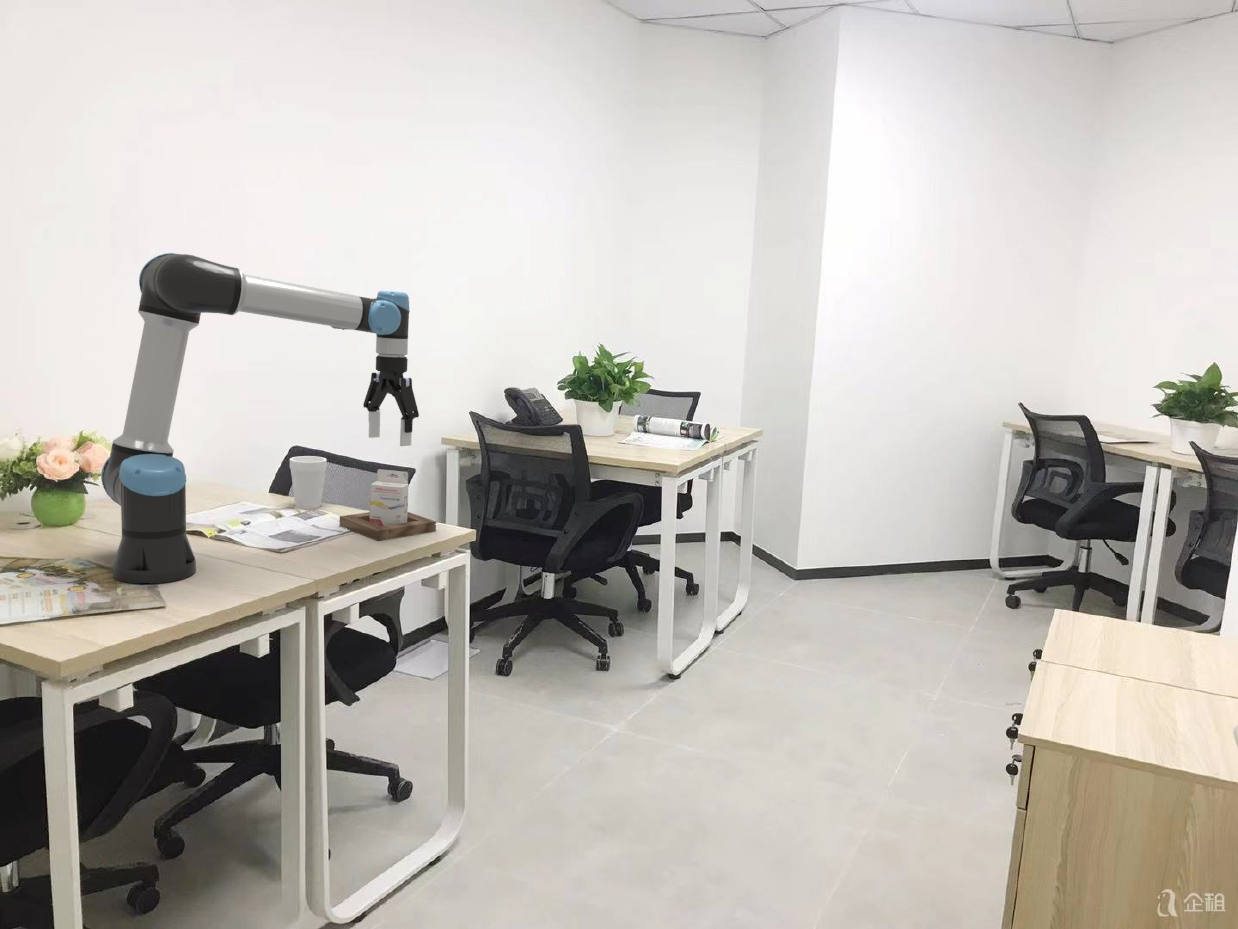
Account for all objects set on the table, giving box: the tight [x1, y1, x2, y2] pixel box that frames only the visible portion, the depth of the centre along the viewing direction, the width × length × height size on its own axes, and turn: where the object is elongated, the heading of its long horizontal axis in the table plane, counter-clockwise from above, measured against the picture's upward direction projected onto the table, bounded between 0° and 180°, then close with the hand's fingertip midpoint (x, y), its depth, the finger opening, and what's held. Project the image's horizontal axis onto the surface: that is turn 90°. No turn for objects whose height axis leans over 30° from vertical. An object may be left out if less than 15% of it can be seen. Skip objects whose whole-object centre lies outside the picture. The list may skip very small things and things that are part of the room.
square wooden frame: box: [339, 511, 437, 542], centre depth 236 cm, size 17×17×2 cm
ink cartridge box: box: [369, 468, 410, 526], centre depth 235 cm, size 9×5×15 cm, turn 85°
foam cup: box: [289, 455, 328, 510], centre depth 252 cm, size 10×9×13 cm
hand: (389, 441), depth 232 cm, fingers open, 13 cm apart
